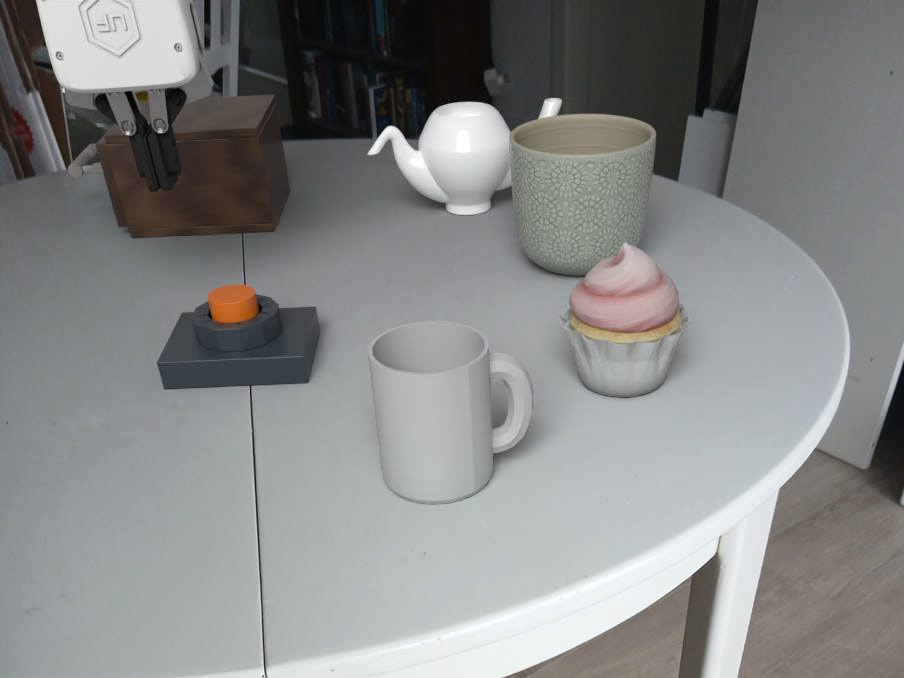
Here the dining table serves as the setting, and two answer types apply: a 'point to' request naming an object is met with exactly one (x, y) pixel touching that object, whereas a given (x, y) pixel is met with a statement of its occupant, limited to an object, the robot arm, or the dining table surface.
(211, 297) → the button
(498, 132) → the teapot
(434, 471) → the cup
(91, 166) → the drawer
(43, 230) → the dining table surface
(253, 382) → the control block
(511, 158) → the planter
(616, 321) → the cupcake
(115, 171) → the cabinet
